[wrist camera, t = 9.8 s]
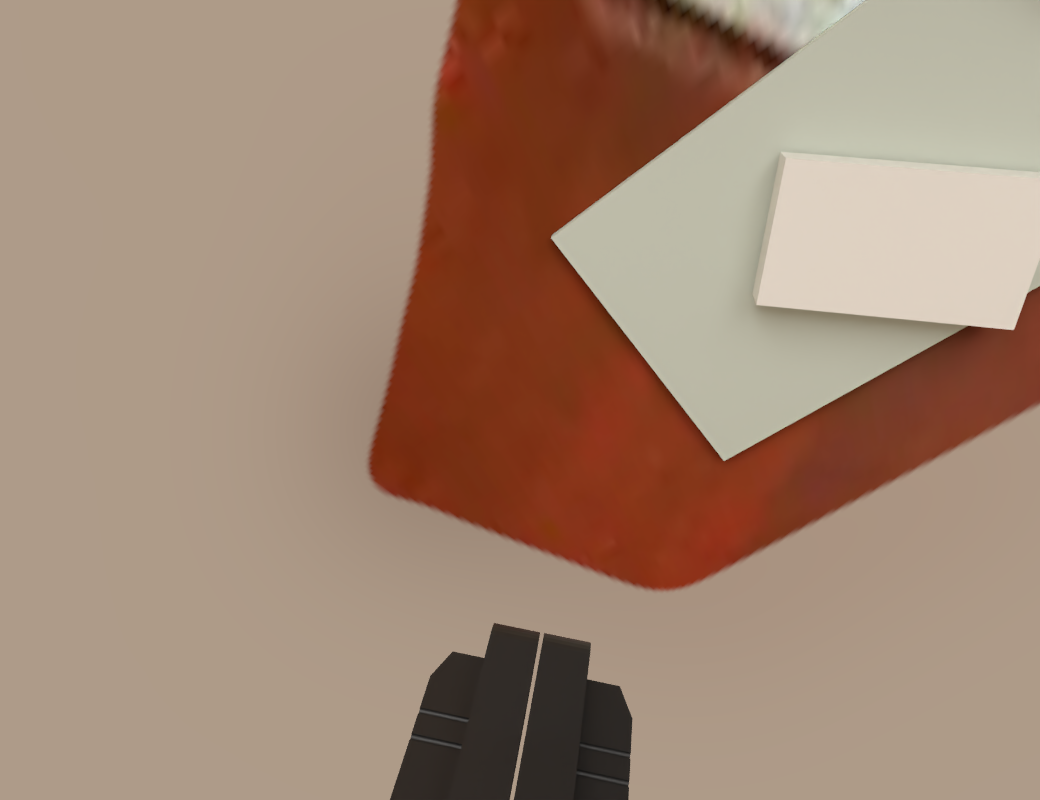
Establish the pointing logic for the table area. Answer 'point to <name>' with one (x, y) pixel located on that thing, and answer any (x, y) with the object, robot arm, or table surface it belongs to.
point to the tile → (900, 240)
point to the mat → (747, 195)
